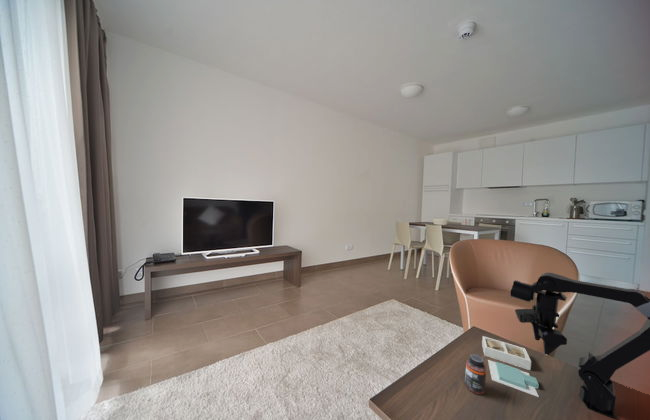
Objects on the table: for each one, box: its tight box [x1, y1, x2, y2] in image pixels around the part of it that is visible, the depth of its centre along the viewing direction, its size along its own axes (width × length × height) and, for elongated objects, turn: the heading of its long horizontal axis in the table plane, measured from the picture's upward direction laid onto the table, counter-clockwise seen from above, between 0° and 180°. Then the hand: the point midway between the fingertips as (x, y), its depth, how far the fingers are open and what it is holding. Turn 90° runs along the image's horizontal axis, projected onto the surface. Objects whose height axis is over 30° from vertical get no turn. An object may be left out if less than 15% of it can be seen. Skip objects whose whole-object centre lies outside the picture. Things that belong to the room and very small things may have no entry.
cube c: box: [487, 340, 503, 352], centre depth 98 cm, size 4×4×4 cm
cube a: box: [512, 348, 524, 358], centre depth 96 cm, size 3×3×3 cm
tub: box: [481, 335, 532, 371], centre depth 96 cm, size 15×9×4 cm, turn 60°
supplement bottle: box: [464, 353, 487, 395], centre depth 79 cm, size 6×6×11 cm
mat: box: [487, 359, 539, 398], centre depth 85 cm, size 13×12×1 cm
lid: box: [495, 361, 539, 390], centre depth 84 cm, size 12×9×2 cm
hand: (541, 346), depth 85 cm, fingers open, 9 cm apart
